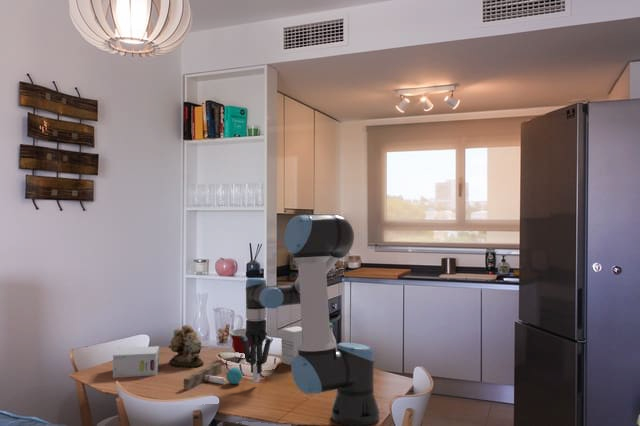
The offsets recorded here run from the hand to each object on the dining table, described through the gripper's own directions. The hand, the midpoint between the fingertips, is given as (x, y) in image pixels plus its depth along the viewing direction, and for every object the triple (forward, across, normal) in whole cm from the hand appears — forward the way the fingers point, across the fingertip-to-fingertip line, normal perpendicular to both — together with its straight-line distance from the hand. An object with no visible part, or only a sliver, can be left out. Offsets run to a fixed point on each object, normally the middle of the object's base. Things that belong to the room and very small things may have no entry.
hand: (256, 381), depth 205 cm
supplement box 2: (+2, -1, -36) cm, 36 cm away
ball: (-1, +10, -1) cm, 10 cm away
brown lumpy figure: (+2, +44, -19) cm, 48 cm away
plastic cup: (+2, +26, -37) cm, 45 cm away
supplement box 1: (+2, +56, -2) cm, 56 cm away
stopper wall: (+2, +23, 0) cm, 23 cm away
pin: (+1, +13, +1) cm, 13 cm away
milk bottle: (+2, -19, -27) cm, 33 cm away
